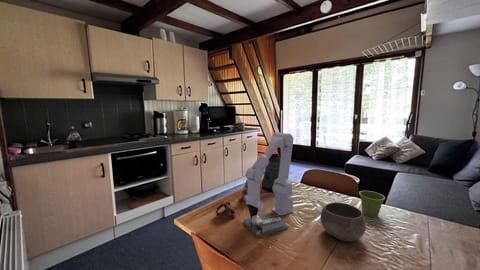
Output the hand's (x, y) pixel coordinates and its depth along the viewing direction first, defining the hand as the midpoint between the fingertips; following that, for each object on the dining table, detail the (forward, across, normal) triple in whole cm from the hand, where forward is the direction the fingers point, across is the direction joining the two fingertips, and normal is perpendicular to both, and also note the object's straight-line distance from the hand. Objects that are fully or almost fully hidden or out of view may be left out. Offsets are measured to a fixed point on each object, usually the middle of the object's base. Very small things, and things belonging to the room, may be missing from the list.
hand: (253, 218), depth 101 cm
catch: (+1, +4, 0) cm, 4 cm away
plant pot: (+3, +20, +62) cm, 65 cm away
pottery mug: (+3, -12, -9) cm, 16 cm away
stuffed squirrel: (+3, -24, +12) cm, 27 cm away
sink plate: (+3, +4, +4) cm, 6 cm away
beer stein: (+3, -35, +37) cm, 51 cm away
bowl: (+3, +26, +31) cm, 40 cm away
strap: (+1, +6, +5) cm, 8 cm away
